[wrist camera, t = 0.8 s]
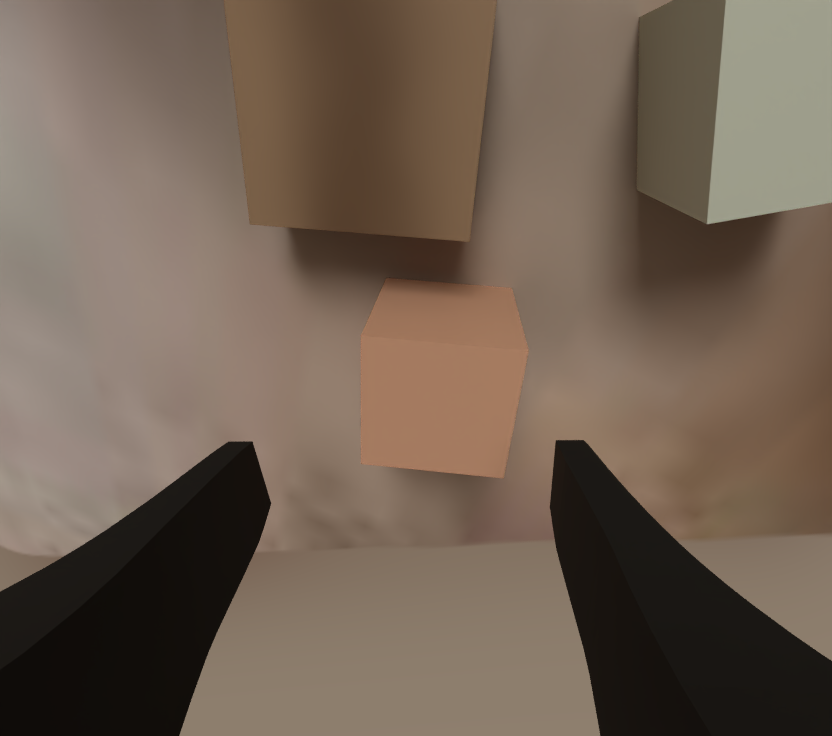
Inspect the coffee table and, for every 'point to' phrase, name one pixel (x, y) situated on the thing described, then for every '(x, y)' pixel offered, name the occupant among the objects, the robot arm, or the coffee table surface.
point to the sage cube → (735, 106)
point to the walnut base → (361, 112)
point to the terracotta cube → (441, 377)
